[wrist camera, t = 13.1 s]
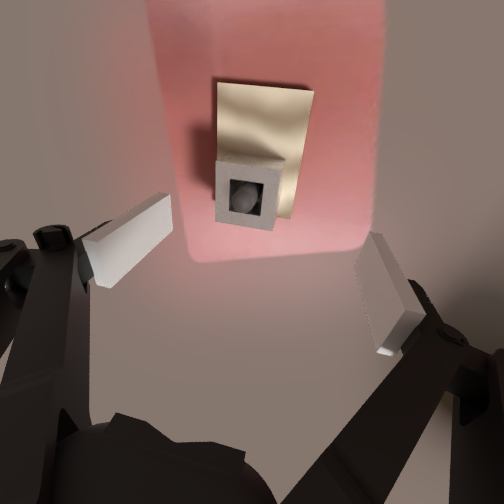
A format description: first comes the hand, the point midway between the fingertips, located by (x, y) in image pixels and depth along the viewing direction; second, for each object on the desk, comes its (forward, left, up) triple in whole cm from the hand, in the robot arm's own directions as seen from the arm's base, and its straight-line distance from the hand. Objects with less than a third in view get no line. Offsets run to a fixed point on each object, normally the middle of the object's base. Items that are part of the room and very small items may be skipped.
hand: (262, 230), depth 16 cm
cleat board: (0, -5, -25) cm, 26 cm away
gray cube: (+4, -5, -24) cm, 24 cm away
